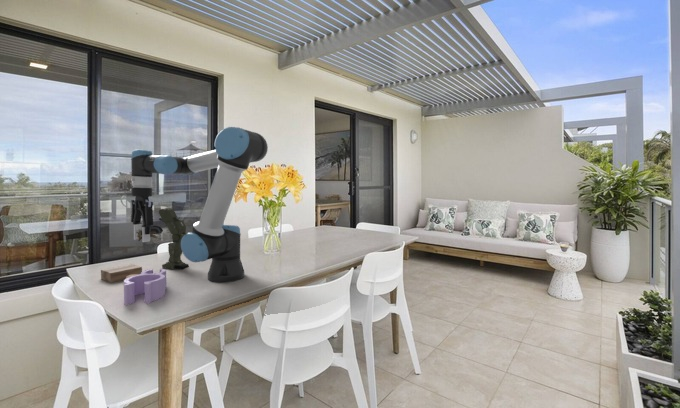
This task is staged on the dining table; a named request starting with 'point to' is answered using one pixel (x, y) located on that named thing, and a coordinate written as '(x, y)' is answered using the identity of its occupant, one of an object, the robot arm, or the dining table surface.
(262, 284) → the dining table surface
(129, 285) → the clip
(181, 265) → the mechanical leg
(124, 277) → the plinth
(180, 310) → the dining table surface
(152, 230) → the eagle figurine
